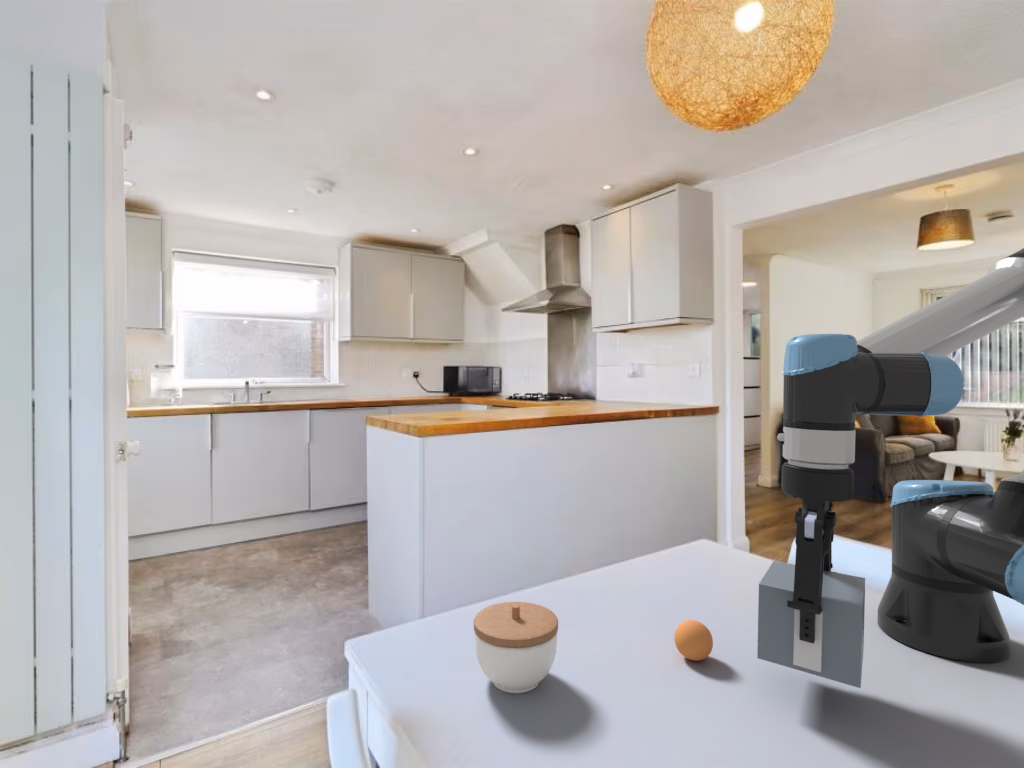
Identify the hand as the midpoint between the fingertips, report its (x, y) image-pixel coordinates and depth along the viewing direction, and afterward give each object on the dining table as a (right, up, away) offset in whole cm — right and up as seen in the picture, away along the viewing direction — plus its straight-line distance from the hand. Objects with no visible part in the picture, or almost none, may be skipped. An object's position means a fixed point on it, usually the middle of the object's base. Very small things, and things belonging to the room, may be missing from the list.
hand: (812, 647), depth 64 cm
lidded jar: (-36, -6, +4) cm, 36 cm away
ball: (-11, -3, +8) cm, 15 cm away
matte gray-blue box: (0, -1, 0) cm, 1 cm away
